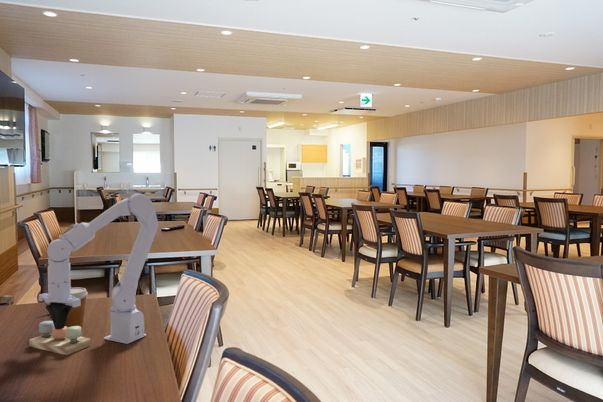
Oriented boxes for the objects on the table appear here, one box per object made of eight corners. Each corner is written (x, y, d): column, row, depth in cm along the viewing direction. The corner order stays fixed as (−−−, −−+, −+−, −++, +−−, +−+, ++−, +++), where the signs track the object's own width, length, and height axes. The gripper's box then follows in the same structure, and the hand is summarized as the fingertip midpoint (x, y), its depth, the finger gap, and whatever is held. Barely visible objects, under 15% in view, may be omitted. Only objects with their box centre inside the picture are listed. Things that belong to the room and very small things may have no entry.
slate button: (57, 336, 133) (57, 321, 133) (45, 340, 130) (45, 325, 130) (48, 334, 135) (48, 320, 135) (36, 338, 131) (36, 323, 131)
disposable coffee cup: (63, 334, 140) (63, 296, 139) (49, 327, 146) (49, 290, 145) (93, 326, 147) (93, 290, 147) (79, 320, 153) (78, 285, 153)
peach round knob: (70, 341, 131) (70, 327, 131) (58, 346, 128) (58, 331, 127) (61, 339, 133) (61, 325, 132) (49, 344, 129) (49, 329, 129)
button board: (90, 345, 131) (90, 338, 131) (66, 355, 124) (66, 347, 123) (54, 337, 137) (54, 331, 137) (29, 346, 130) (29, 339, 129)
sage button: (84, 341, 129) (84, 327, 129) (72, 346, 125) (72, 331, 125) (74, 339, 130) (74, 325, 130) (63, 344, 127) (62, 329, 127)
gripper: (28, 281, 129) (29, 328, 129) (65, 287, 123) (65, 336, 123) (51, 276, 135) (51, 321, 136) (86, 282, 129) (87, 328, 130)
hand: (59, 328), depth 130 cm, fingers closed, pressing on peach round knob
